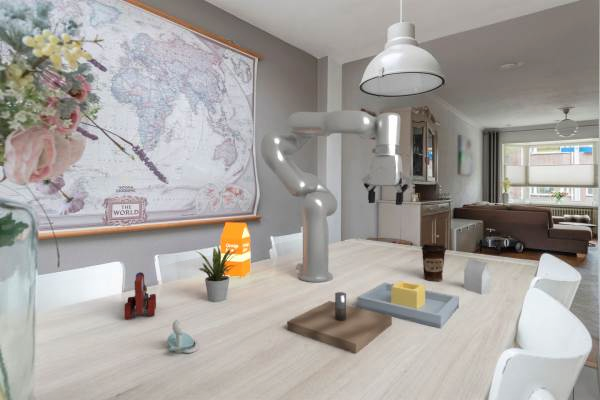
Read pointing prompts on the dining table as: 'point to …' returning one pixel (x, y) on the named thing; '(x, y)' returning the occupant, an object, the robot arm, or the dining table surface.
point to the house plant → (217, 275)
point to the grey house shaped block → (477, 276)
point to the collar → (408, 294)
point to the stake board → (340, 326)
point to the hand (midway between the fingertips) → (384, 203)
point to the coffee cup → (433, 261)
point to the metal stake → (340, 306)
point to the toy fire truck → (140, 299)
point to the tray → (429, 313)
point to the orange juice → (236, 248)
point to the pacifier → (181, 340)
